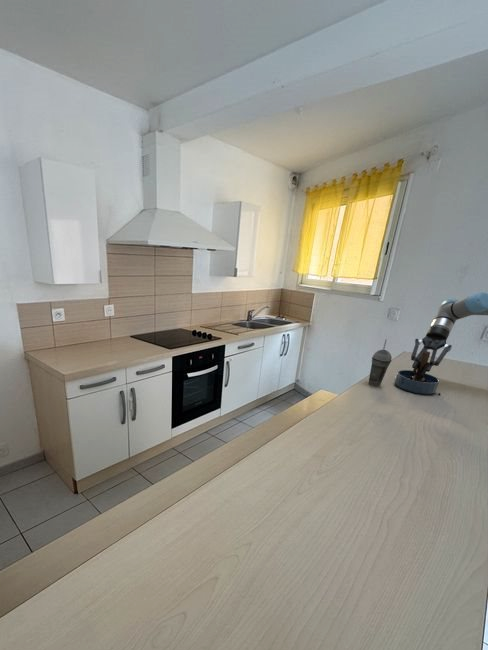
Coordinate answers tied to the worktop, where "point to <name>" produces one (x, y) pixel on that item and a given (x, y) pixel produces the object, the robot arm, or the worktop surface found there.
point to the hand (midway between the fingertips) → (417, 375)
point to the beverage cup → (379, 366)
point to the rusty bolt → (421, 366)
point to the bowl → (416, 383)
